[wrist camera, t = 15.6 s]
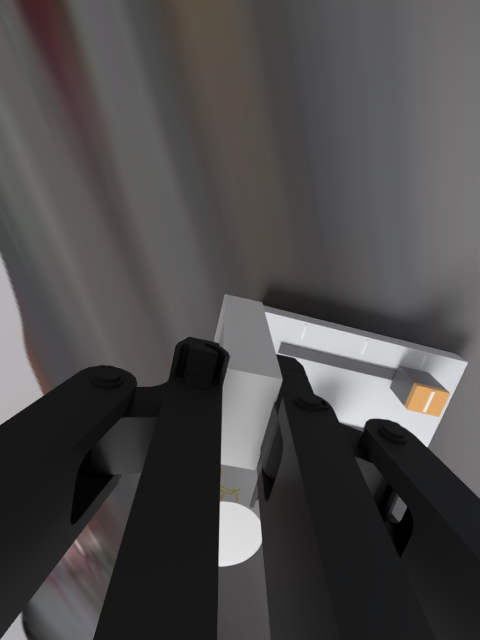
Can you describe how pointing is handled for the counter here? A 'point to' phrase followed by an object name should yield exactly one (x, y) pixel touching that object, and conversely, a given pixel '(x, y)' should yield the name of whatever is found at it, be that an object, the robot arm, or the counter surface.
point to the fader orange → (419, 391)
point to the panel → (361, 369)
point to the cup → (238, 516)
